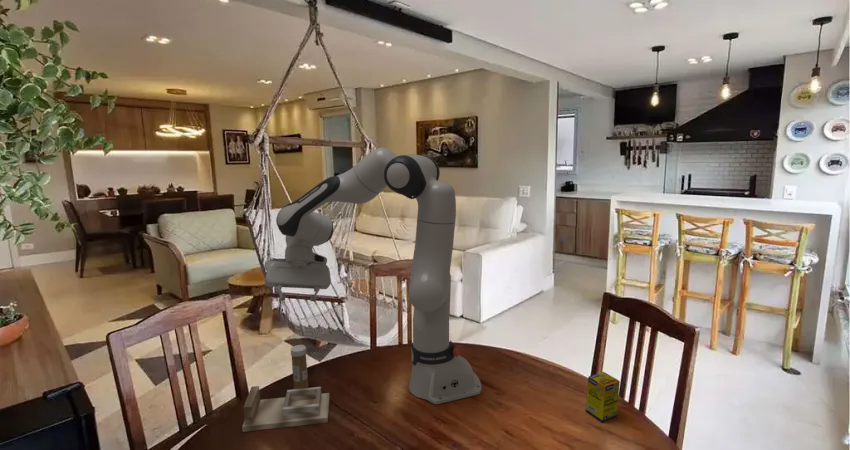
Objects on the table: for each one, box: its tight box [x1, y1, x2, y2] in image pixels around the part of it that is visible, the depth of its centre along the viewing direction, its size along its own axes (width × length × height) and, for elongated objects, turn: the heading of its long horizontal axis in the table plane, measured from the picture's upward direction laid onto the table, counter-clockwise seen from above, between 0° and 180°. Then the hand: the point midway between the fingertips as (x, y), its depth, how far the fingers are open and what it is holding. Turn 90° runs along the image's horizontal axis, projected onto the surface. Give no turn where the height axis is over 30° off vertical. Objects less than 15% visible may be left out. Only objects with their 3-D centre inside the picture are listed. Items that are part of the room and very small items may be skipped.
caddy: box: [241, 385, 331, 433], centre depth 123 cm, size 22×12×6 cm, turn 100°
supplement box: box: [585, 371, 621, 423], centre depth 121 cm, size 6×6×11 cm
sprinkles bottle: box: [290, 344, 309, 389], centre depth 135 cm, size 5×5×14 cm
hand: (298, 300), depth 137 cm, fingers open, 8 cm apart
